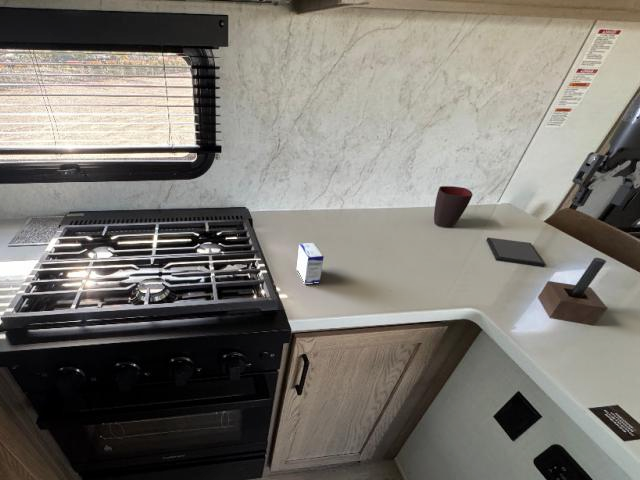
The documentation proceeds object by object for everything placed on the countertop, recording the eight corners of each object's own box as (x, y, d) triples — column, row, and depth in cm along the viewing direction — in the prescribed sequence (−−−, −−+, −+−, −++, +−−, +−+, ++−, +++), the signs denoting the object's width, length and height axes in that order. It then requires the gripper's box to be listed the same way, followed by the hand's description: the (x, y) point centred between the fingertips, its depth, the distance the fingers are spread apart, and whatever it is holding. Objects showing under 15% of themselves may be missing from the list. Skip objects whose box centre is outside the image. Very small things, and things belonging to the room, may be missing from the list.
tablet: (529, 245, 109) (530, 242, 109) (543, 267, 99) (545, 263, 98) (486, 240, 113) (487, 237, 112) (495, 260, 102) (497, 257, 101)
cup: (430, 228, 120) (442, 194, 113) (424, 213, 131) (434, 181, 123) (462, 231, 118) (476, 197, 111) (452, 215, 129) (464, 183, 121)
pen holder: (578, 304, 85) (590, 287, 82) (594, 325, 78) (608, 308, 75) (537, 297, 87) (547, 280, 84) (549, 317, 81) (560, 300, 78)
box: (320, 283, 93) (324, 255, 88) (304, 285, 92) (307, 257, 87) (311, 268, 99) (314, 242, 94) (295, 270, 98) (298, 243, 93)
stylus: (567, 309, 83) (603, 258, 75) (571, 314, 82) (608, 262, 73) (557, 307, 84) (592, 256, 75) (560, 312, 82) (596, 261, 74)
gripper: (631, 124, 60) (578, 212, 70) (710, 122, 61) (646, 210, 70) (594, 117, 66) (550, 199, 76) (666, 115, 67) (612, 197, 76)
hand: (596, 204), depth 73 cm, fingers open, 8 cm apart
